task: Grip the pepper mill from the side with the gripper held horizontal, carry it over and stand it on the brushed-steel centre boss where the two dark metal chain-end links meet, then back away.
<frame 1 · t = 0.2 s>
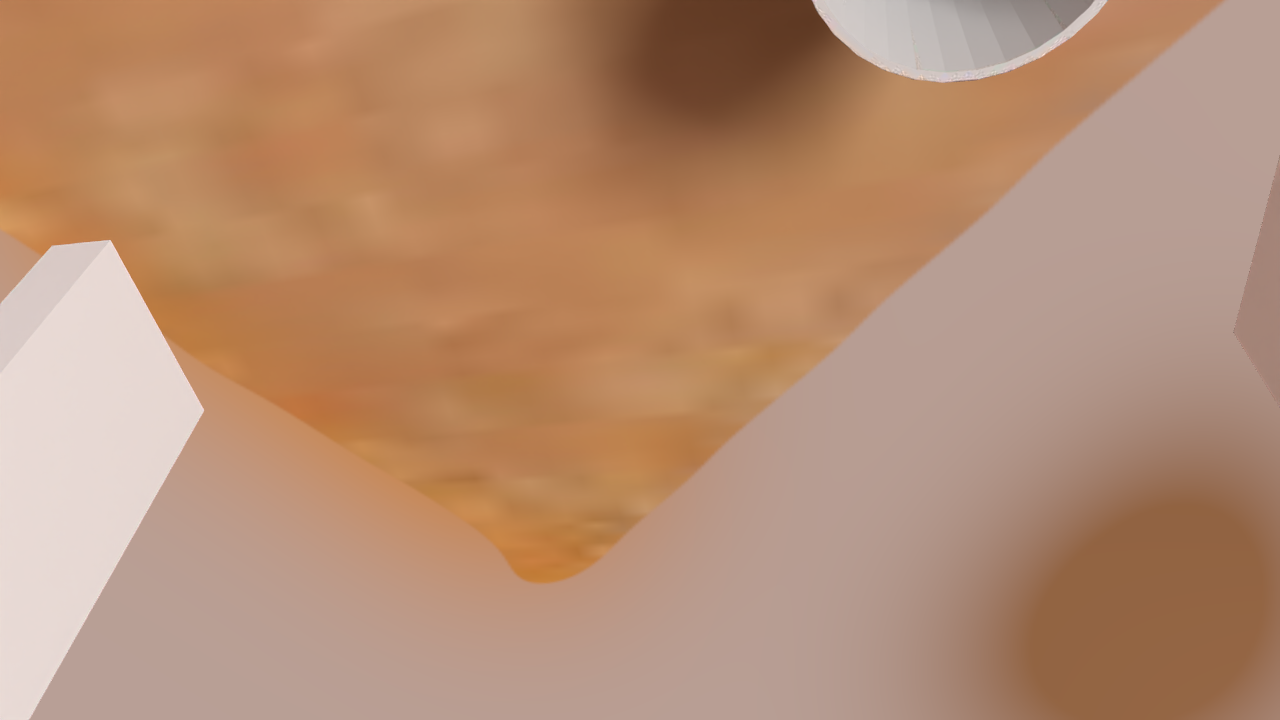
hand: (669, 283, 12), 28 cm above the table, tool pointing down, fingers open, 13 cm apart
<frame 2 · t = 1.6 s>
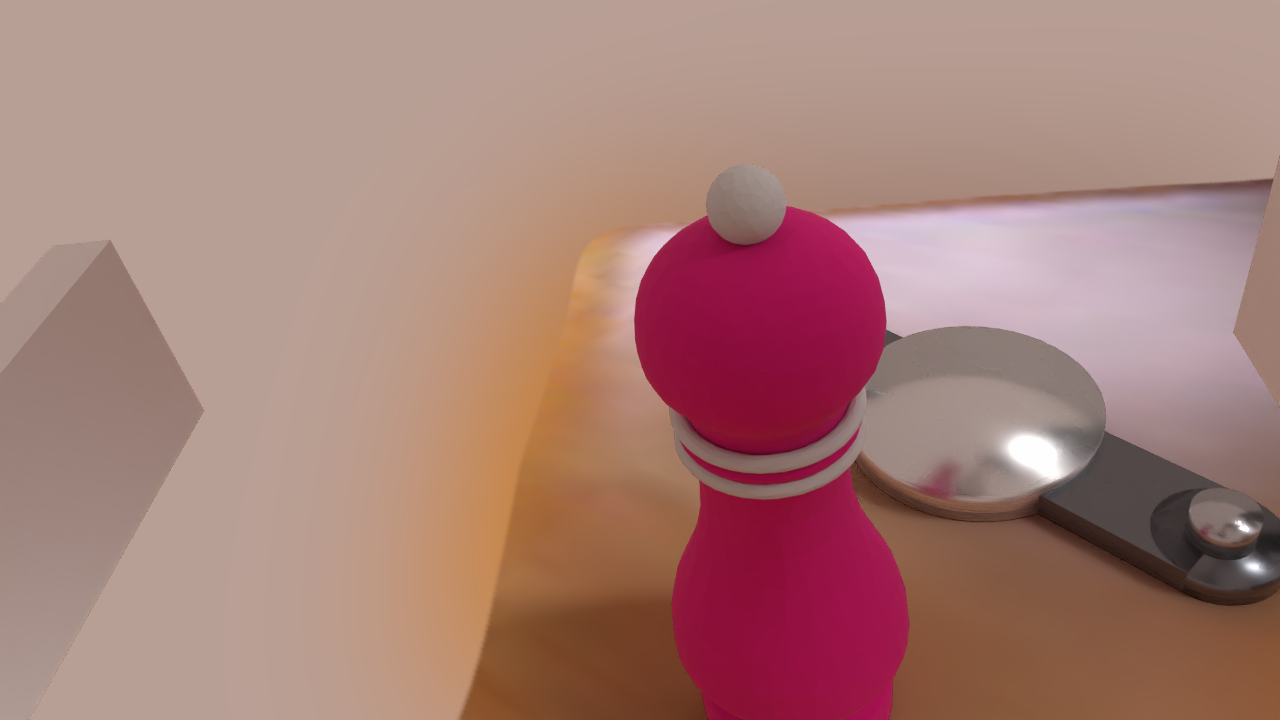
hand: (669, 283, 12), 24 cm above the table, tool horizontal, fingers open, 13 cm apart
chain joint: (969, 429, 43), on the table
pepper mill: (797, 697, 35), on the table
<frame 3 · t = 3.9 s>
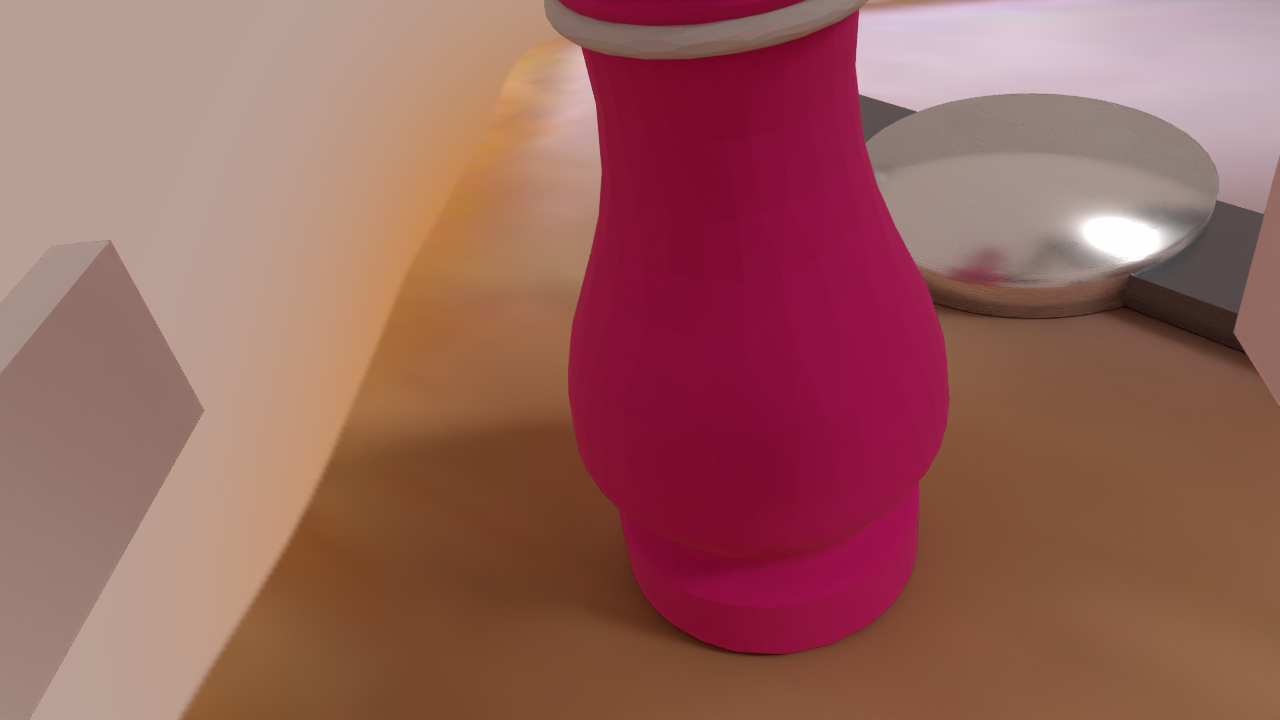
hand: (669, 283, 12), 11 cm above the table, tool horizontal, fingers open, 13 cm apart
chain joint: (1020, 215, 31), on the table
pepper mill: (771, 543, 23), on the table
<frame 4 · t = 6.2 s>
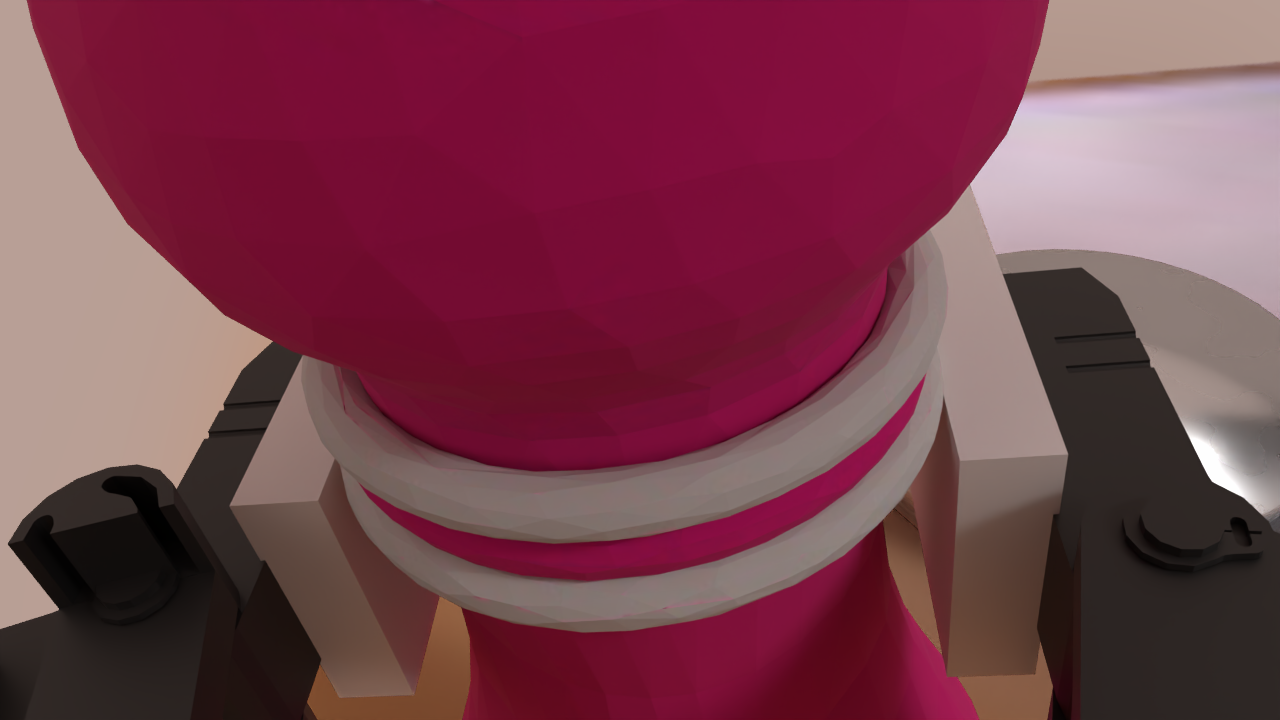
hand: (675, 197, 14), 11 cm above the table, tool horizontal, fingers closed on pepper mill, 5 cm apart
chain joint: (1069, 420, 25), on the table
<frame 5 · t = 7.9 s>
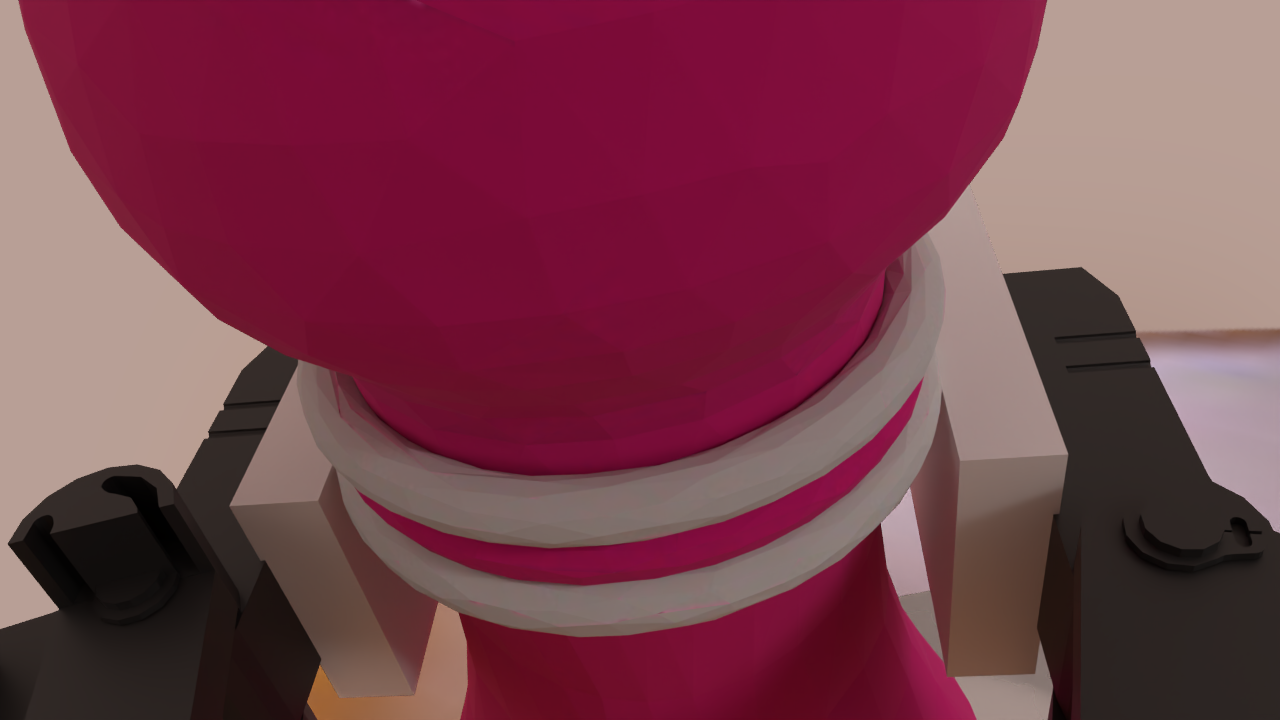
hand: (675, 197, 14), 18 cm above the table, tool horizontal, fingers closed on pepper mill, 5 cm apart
when the fingers open (14 cm above the table, at t = 9.8 s): pepper mill drops 1 cm, resting on chain joint.
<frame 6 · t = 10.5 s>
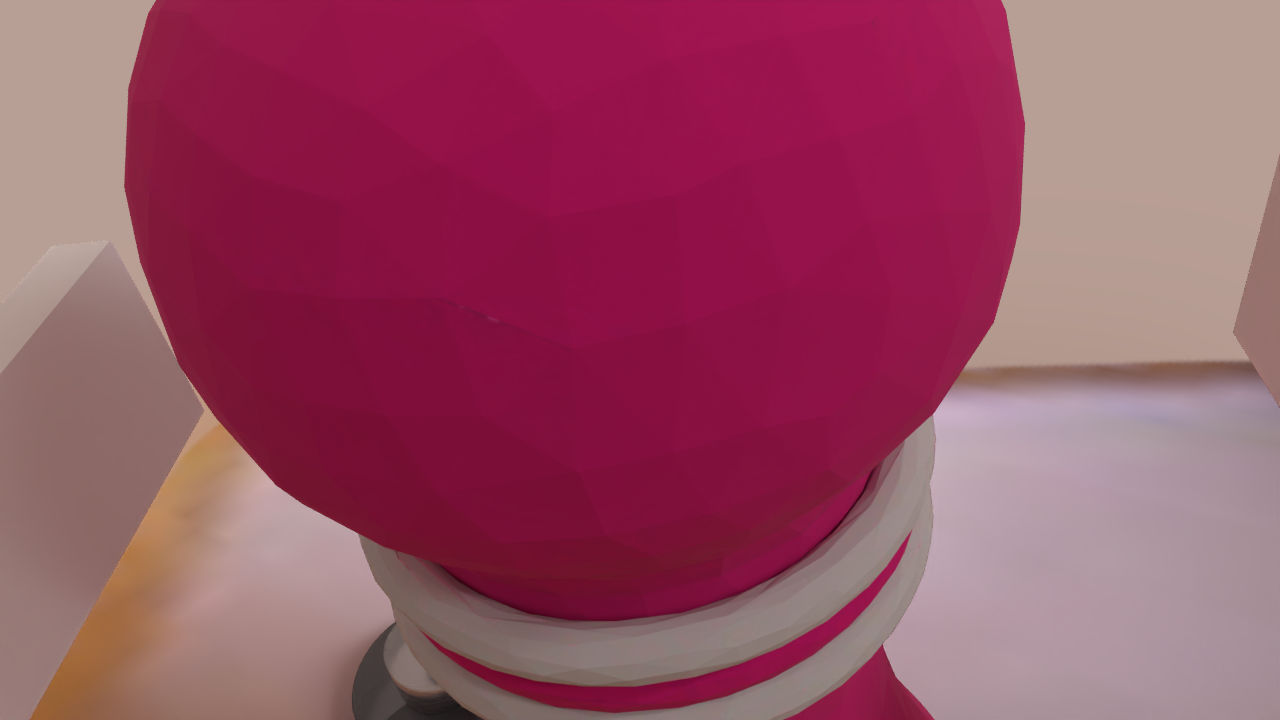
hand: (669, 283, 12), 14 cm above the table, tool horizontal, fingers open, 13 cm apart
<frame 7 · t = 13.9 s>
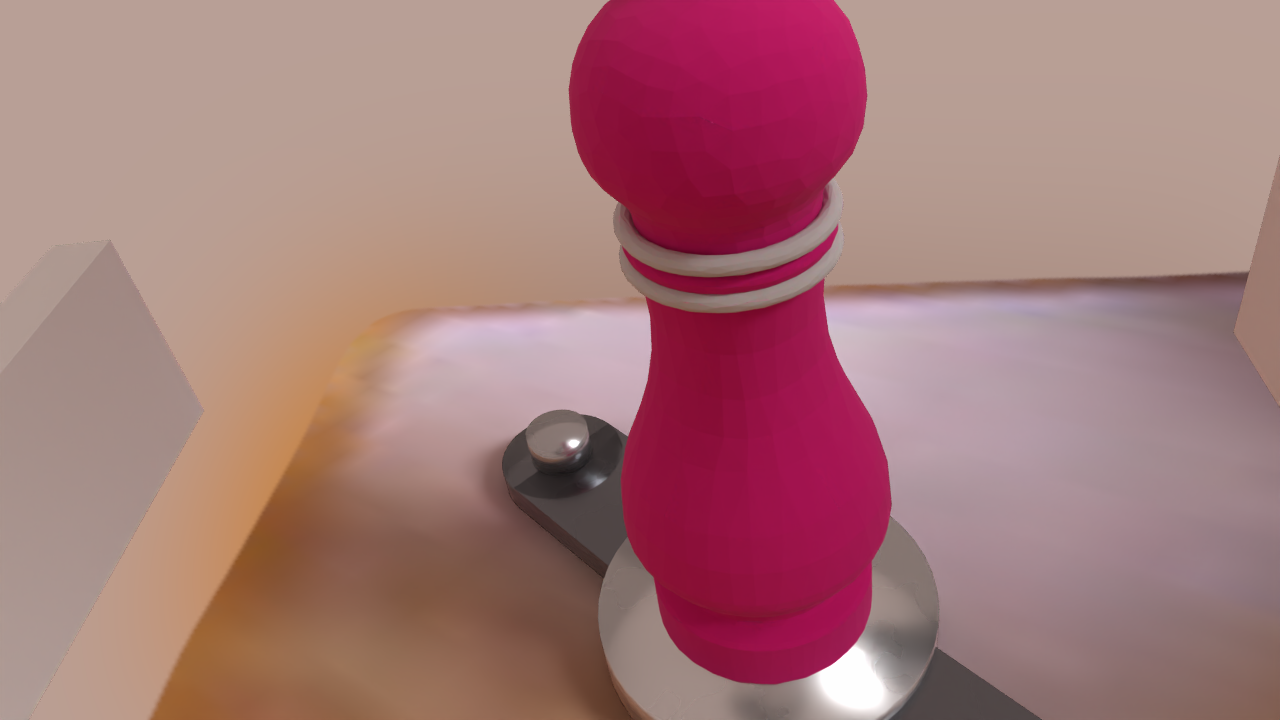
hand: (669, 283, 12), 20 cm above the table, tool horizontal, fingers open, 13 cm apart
chain joint: (767, 627, 32), on the table
pepper mill: (764, 600, 31), point 1 cm above the table, touching chain joint
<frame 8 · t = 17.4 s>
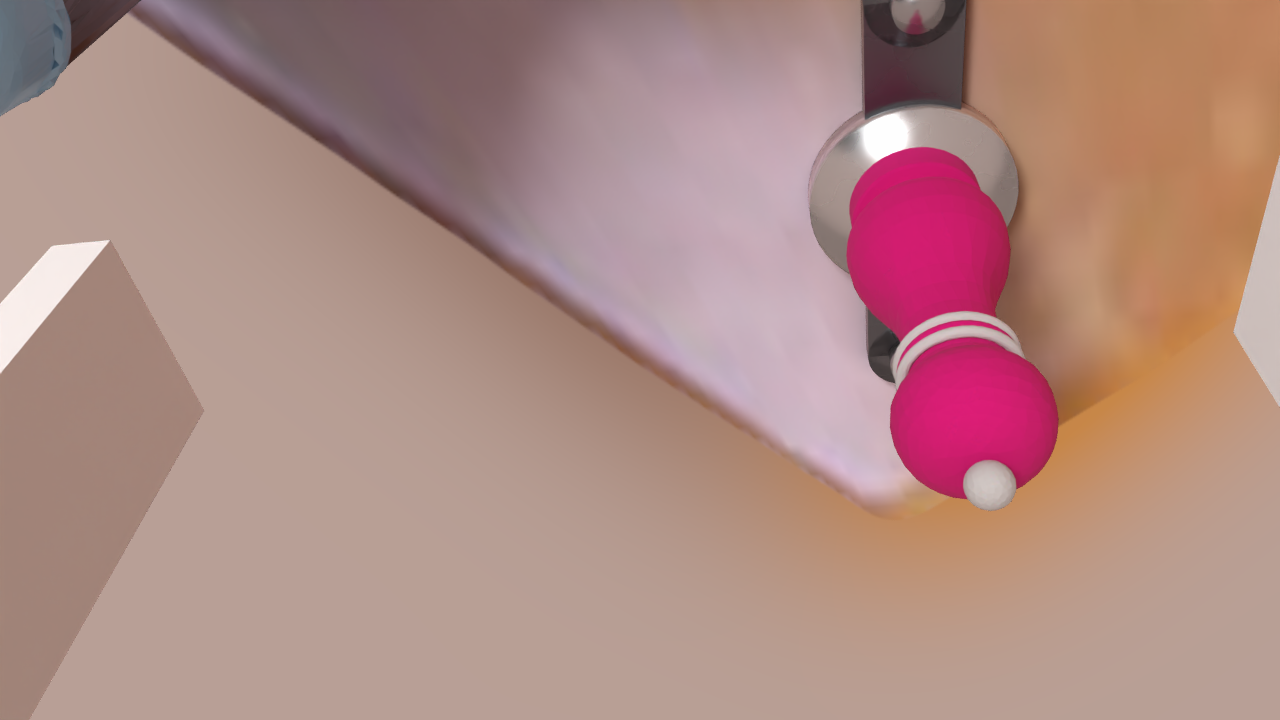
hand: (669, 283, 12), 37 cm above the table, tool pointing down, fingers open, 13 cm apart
chain joint: (908, 187, 52), on the table
pepper mill: (912, 200, 51), point 1 cm above the table, touching chain joint
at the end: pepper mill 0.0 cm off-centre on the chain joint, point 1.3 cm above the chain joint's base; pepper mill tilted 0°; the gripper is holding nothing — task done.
